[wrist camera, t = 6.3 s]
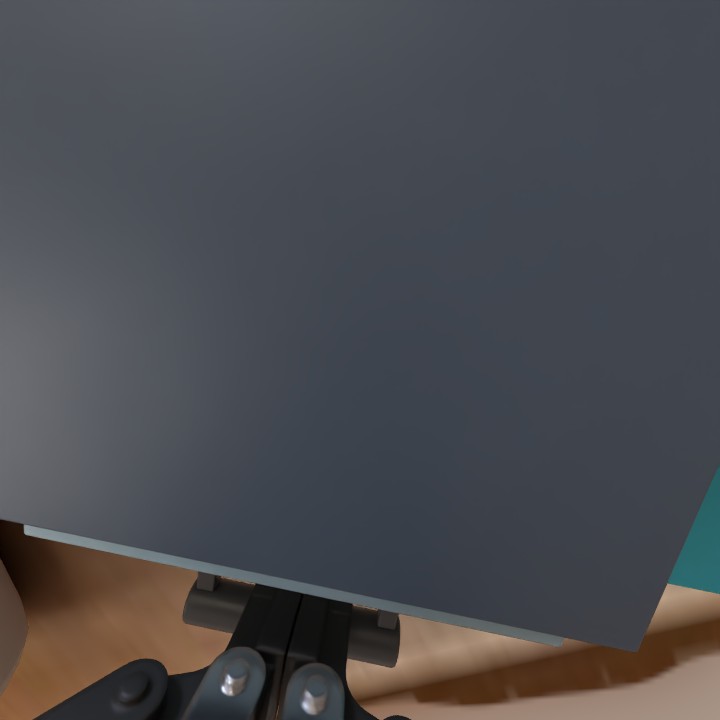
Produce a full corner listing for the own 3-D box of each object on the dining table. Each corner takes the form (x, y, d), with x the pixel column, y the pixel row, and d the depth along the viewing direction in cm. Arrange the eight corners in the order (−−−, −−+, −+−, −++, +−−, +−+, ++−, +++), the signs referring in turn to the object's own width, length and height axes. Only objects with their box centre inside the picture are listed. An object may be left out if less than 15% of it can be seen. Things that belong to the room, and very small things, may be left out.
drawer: (448, 562, 17) (504, 801, 9) (190, 509, 17) (28, 694, 9) (575, 98, 12) (885, -209, 5) (228, 42, 13) (-9, -325, 5)
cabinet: (488, 436, 16) (638, 654, 7) (198, 380, 17) (-56, 509, 7) (598, 39, 13) (1225, -688, 3) (229, -19, 13) (-174, -806, 4)
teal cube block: (557, 498, 17) (619, 574, 12) (587, 408, 16) (666, 457, 11) (654, 517, 16) (752, 601, 12) (690, 428, 15) (811, 485, 11)
